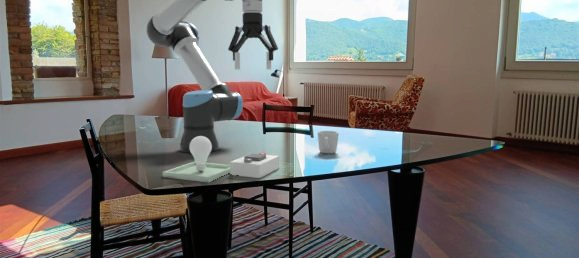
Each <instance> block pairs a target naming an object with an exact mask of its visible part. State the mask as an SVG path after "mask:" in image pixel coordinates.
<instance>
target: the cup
mask: <svg viewBox="0 0 579 258" xmlns="http://www.w3.org/2000/svg"><path fill="white" fill-rule="evenodd" d="M317 141H318V150H319V152H320V153H321V154H326V155H328V154H329V155H331V154H332V155H333V154H335V153H336V152H337V148H338V143H339V142H338V141H339V132H338V131H333V130H321V131H320V130H319V131H318V132H317Z"/></svg>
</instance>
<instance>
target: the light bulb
mask: <svg viewBox="0 0 579 258" xmlns="http://www.w3.org/2000/svg"><path fill="white" fill-rule="evenodd" d="M189 148H190V152H191V153H190V154H191V156H192V157H193V159H194V162H195V163H196V170H197V171H199V172H202V171H204V170H206V165H205V164H206V163H208V162H207V160H208V157H209V156H210V154H211V153H212V152H211V149H212V145H211V142H210V140H209V139H208V138H206V137H204V136H198V137H195V138H194V139H192V141H191V142H190V147H189Z"/></svg>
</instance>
